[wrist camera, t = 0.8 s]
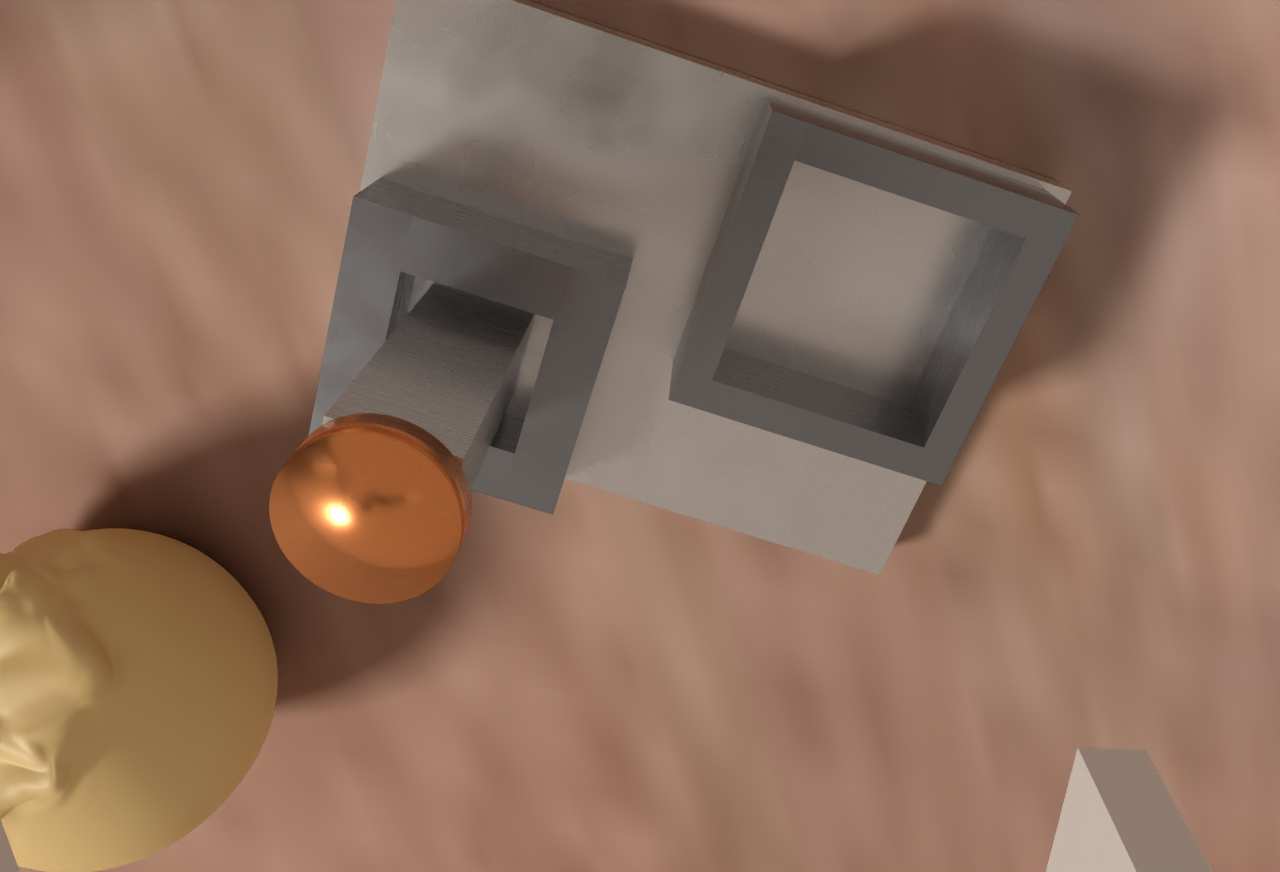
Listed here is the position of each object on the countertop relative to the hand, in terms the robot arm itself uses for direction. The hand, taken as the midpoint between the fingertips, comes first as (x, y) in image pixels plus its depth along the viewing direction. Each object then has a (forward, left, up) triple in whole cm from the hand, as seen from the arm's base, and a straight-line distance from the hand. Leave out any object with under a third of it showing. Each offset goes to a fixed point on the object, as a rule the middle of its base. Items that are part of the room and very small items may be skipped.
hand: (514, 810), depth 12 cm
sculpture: (-14, -19, -23) cm, 33 cm away
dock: (+1, 0, -23) cm, 23 cm away
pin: (-4, -3, -22) cm, 22 cm away
